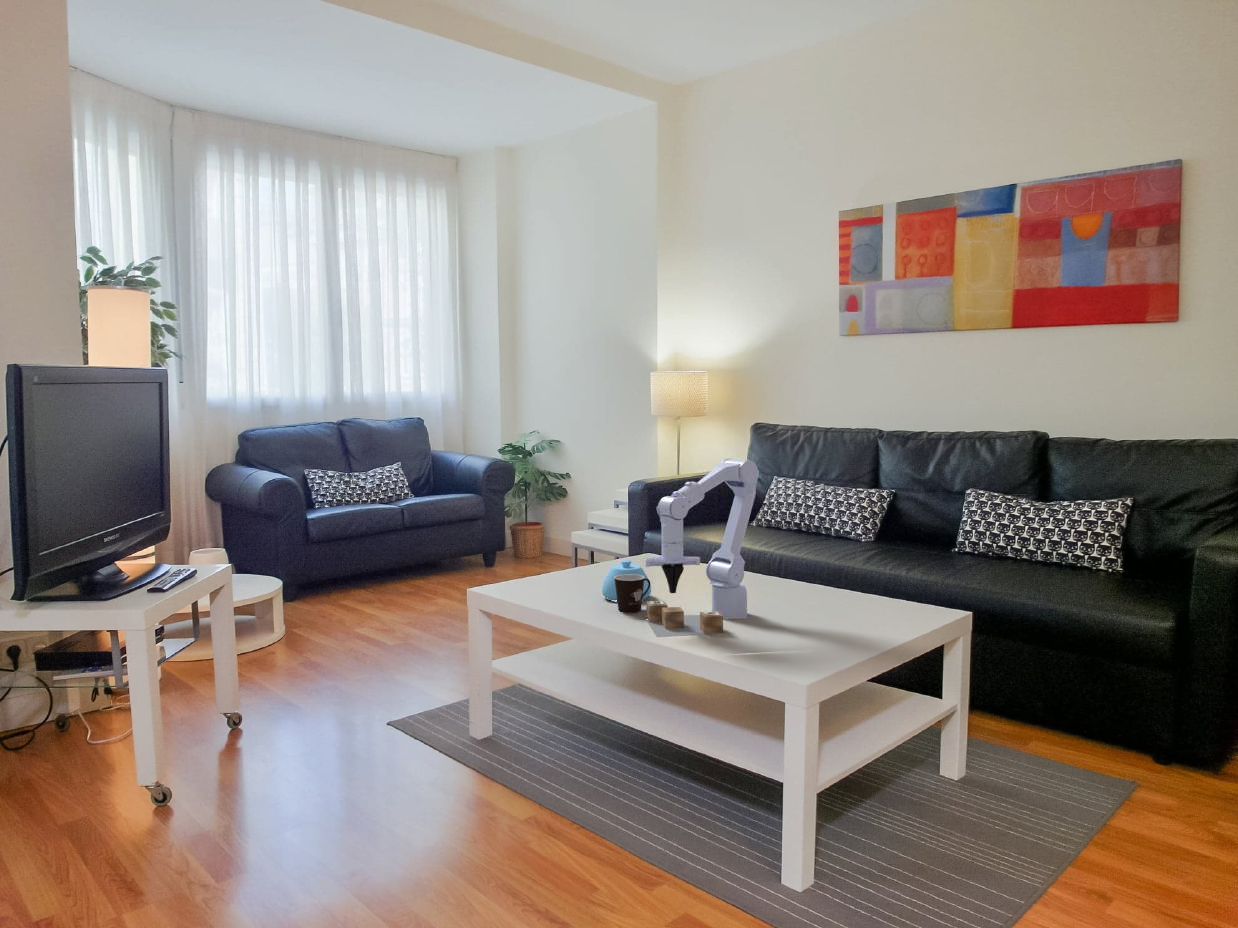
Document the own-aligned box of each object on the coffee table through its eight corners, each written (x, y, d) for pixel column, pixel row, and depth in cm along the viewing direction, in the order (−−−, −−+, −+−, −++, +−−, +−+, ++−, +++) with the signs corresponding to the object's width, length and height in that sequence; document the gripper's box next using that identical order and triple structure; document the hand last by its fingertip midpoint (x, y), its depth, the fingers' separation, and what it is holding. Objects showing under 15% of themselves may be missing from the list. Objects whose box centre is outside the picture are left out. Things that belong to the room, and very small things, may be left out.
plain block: (680, 623, 239) (680, 606, 239) (683, 627, 234) (683, 611, 234) (661, 623, 238) (661, 607, 238) (665, 628, 233) (665, 612, 233)
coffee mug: (619, 616, 248) (618, 581, 248) (611, 609, 257) (610, 575, 256) (658, 613, 252) (658, 578, 251) (649, 606, 260) (649, 572, 259)
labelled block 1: (664, 616, 246) (664, 599, 246) (667, 621, 241) (667, 603, 241) (646, 617, 245) (646, 600, 245) (649, 622, 240) (649, 604, 240)
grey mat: (708, 615, 248) (707, 614, 248) (725, 634, 228) (725, 633, 228) (644, 618, 246) (644, 617, 246) (656, 638, 226) (656, 636, 226)
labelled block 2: (718, 627, 234) (718, 610, 233) (723, 633, 229) (723, 614, 228) (700, 628, 233) (699, 610, 233) (704, 633, 228) (704, 615, 228)
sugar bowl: (652, 592, 278) (652, 556, 277) (649, 604, 263) (649, 565, 262) (605, 592, 279) (604, 556, 278) (599, 603, 264) (598, 565, 263)
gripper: (647, 545, 230) (648, 596, 231) (702, 543, 231) (702, 594, 232) (643, 540, 237) (643, 590, 238) (696, 539, 238) (696, 588, 239)
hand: (672, 592), depth 235 cm, fingers closed
